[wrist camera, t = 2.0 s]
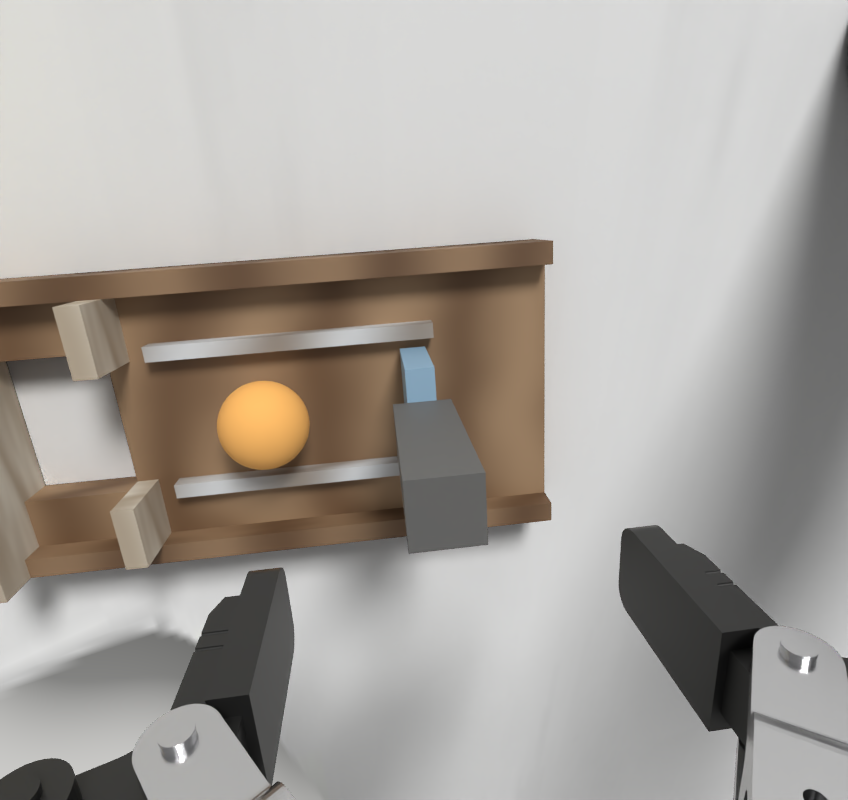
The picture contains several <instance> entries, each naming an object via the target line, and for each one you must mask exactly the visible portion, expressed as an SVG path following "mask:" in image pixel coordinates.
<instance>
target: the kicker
mask: <svg viewBox="0 0 848 800" xmlns="http://www.w3.org/2000/svg"><path fill="white" fill-rule="evenodd" d="M400 359H401V371H402V383H403V395H404V403H402V404H393V412H394V423H395V434H396V445H397V456H398V465H399V474H400V482H401V491H402V499H403V508H404V516H405V525H406V533H407V542H408V550H409V554H410V553H419V552H427V551H436V550H445V549H454V548H463V547H471V546H480V545H488V529H487V500H486V472H485V470H484V468H483V466H482V464H481V462H480V460H479V458H478V455H477V453H476V451H475V449H474V447H473V445H472V443H471V440H470V438H469V436H468V434H467V432H466V430H465V428H464V426H463V423H462V421H461V419H460V417H459V415H458V413H457V411H456V408H455V406H454V404H453V402H452V400H451V399H445V400H437V399H436V384H435V368H434V365H433V363H432V361H431V359H430V356H429V354H428V352H427V350H426V348H425V346H423V347H412V348H400Z"/></svg>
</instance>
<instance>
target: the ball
mask: <svg viewBox="0 0 848 800" xmlns="http://www.w3.org/2000/svg"><path fill="white" fill-rule="evenodd" d="M309 428H310V420H309V415H308V411H307V408H306V406H305V404H304V402H303V401H302V399H301V398H300V397H299V396H298V395H297V394H296V393H295V392H294V391H293V390H291V389H290V388H288V387H287V386H285V385H283V384H280V383H277V382H273V381H255V382H251V383H248V384H245V385H243V386H241V387H239V388H237V389H236V390H235V391H233V392H232V393H231V394H230V395H229V396H228V397H227V398H226V400H225V401H224V403H223V404H222V406H221V408H220V411H219V414H218V418H217V434H218V438H219V441H220V443H221V446H222V447H223V449H224V450H225V452H226V453H227V454H228V455H229V456H230V457H231V458H232V459H233V460H234V461H236V462H237V463H239V464H241V465H243V466H245V467H248V468H251V469H257V470H269V469H274V468H278V467H280V466H283V465H285V464H287V463H288V462H290V461H291V460H293V459H294V458H295V457H296V456H297V455H298V454H299V453H300V451H301V450H302V449H303V447H304V445H305V443H306V441H307V438H308V435H309Z"/></svg>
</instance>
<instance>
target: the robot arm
mask: <svg viewBox="0 0 848 800" xmlns="http://www.w3.org/2000/svg"><path fill="white" fill-rule="evenodd" d="M619 592H620V597H621V600H622V603H623V606H624V608H625V610H626V611H627V613H628V614H629V616H630V617H631V619H632V620H633V622H634V623H635V625H636V626H637V627H638V629H639V630H640V632H641V633H642V635H643V636H644V638H645V639H646V641H647V642H648V644H649V645H650V646H651V648H652V649H653V651H654V652H655V654H656V655H657V657H658V658H659V660H660V661H661V662H662V664H663V665H664V667H665V668H666V670H667V671H668V673H669V674H670V676H671V677H672V678H673V680H674V681H675V683H676V684H677V686H678V687H679V689H680V690H681V692H682V693H683V694H684V696H685V697H686V699H687V700H688V702H689V703H690V705H691V706H692V708H693V709H694V711H695V712H696V713H697V715H698V716H699V718H700V719H701V721H702V722H703V724H704V725H705V727H706V728H707V729H708V731H716V730H723V729H729V728H732V729H733V731H734V732H735V733H736V735H737V736H738V742H737V748H736V762H735V778H734V795H733V800H848V658H843V657H841V656H840V655H839V653H838V652H837V651H836V650H835V649H834V648H833V647H832V646H830V645H829V644H828V643H826V642H825V641H823V640H822V639H820V638H818V637H816V636H814V635H812V634H810V633H808V632H805V631H802V630H799V629H796V628H791V627H786V626H778V625H777V624H776V623H775V622H774V621H773V620H772V619H771V618H770V617H769V616H768V615H767V614H766V613H765V612H764V611H763V610H762V609H761V608H760V607H759V606H757V605H756V604H755V603H754V602H753V601H752V600H751V599H750V598H749V597H748V596H747V595H746V594H745V593H744V592H743V591H742V590H741V589H740V588H739V587H738V586H737V585H733V582H732V581H731V580H730V579H729V578H728V577H727V576H726V575H725V574H724V573H721V572H720V569H719V568H718V567H717V566H716V565H715V564H714V563H713V562H711V561H710V560H709V559H708V558H707V557H706V556H705V555H704V554H702V553H700V552H698V551H696V550H694V549H692V548H691V547H689V546H687V545H685V544H676V543H675V542H674V541H673V540H672V539H671V538H670V537H669V536H668V534H667V533H666V532H665V531H664V530H663V529H662V528H660V527H659V526H657V525H653V526H644V527H636V528H627V529H625V530H624V531H623V533H622V537H621V553H620V570H619ZM293 653H294V624H293V618H292V612H291V606H290V600H289V594H288V588H287V582H286V576H285V572H284V569H283V568H273V569H265V570H256V571H249V572H248V574H247V577H246V580H245V583H244V585H243V588H242V591H241V594H240V596H231V597H225V598H224V599H223V600H222V601H221V602H220V603H219V604H218V605H217V606H216V607H215V608H214V609H213V611H212V612H211V613H210V614H209V615H208V618H207V620H206V623H205V625H204V628H203V630H202V636H201V637H200V638H199V640H198V643H197V645H196V648H195V652H194V653H193V655H192V658H191V660H190V663H189V665H188V668H187V671H186V673H185V675H184V678H183V680H182V683H181V685H180V688H179V691H178V693H177V695H176V698H175V700H174V703H173V705H172V708H171V711H169V712H167V713H165V714H164V715H162V716H161V717H159V718H158V719H156V720H155V721H154V722H153V723H152V724H150V726H149V727H148V728H147V729H146V730H145V731H144V732H143V733H142V735H141V736H140V737H139V739H138V741H137V742H136V744H135V747H134V749H133V751H131V752H130V753H128V754H126V755H124V756H122V757H120V758H118V759H115V760H113V761H110V762H108V763H106V764H103V765H101V766H98V767H96V768H93V769H91V770H88V771H86V772H83V773H81V774H79V775H76V776H75V774H74V771H73V769H72V767H71V765H70V764H69V763H67V762H66V761H64V760H61V759H53V758H51V759H43V760H39V761H35V762H32V763H29V764H27V765H24V766H22V767H20V768H18V769H16V770H14V771H13V772H11V773H10V774H8V775H6V776H5V777H3V778H2V779H0V800H296V799H295V798H294V797H293V795H292V794H291V793H290V791H289V790H288V789H287V788H286V786H284V784H282V783H281V782H276V783H275V784H274V785H273V786H272V781H273V775H274V768H275V763H276V756H277V750H278V744H279V738H280V732H281V726H282V720H283V714H284V708H285V702H286V696H287V690H288V684H289V678H290V672H291V666H292V659H293Z"/></svg>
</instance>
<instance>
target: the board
mask: <svg viewBox="0 0 848 800" xmlns="http://www.w3.org/2000/svg"><path fill="white" fill-rule="evenodd" d="M547 264H553V241H549V240H536V239H531V240H517V241H504V242H490V243H477V244H464V245H450V246H437V247H423V248H410V249H397V250H383V251H370V252H356V253H343V254H329V255H316V256H303V257H289V258H276V259H262V260H249V261H236V262H222V263H209V264H195V265H182V266H168V267H155V268H142V269H128V270H115V271H101V272H88V273H74V274H61V275H48V276H34V277H21V278H7V279H0V603H6V602H8V601H9V600H10V599H11V598H12V597H13V596H14V595H15V594H16V593H17V592H18V591H19V590H20V589H21V588H22V587H23V585H24V584H25V583H26V582H27V581H28V580H29V579H30V578H35V577H44V576H53V575H62V574H71V573H80V572H89V571H98V570H107V569H116V568H125V567H126V570H129V569H138V568H147V567H149V566H150V565H152V564H161V563H170V562H179V561H188V560H197V559H206V558H215V557H224V556H233V555H242V554H251V553H260V552H269V551H278V550H287V549H296V548H305V547H314V546H323V545H332V544H341V543H350V542H359V541H368V540H377V539H386V538H395V537H404V536H407V533H406V525H405V516H404V508H403V499H402V491H401V482H400V474H399V465H398V456H397V445H396V434H395V423H394V412H393V404H402V403H404V395H403V383H402V371H401V359H400V348H412V347H423V346H425V348H426V350H427V352H428V354H429V356H430V359H431V361H432V363H433V365H434V368H435V384H436V399H437V400H445V399H451V400H452V402H453V404H454V406H455V408H456V411H457V413H458V415H459V417H460V419H461V421H462V423H463V426H464V428H465V430H466V432H467V434H468V436H469V438H470V440H471V443H472V445H473V447H474V449H475V451H476V453H477V455H478V458H479V460H480V462H481V464H482V466H483V468H484V470H485V472H486V500H487V527H493V526H502V525H511V524H520V523H529V522H538V521H547V520H551V502H550V500H549V499H548V497H547V496H546V494H545V493H544V319H545V265H547ZM62 356H66V358H67V362H68V365H69V369H70V372H71V376H72V380H73V381H83V380H94V379H100V378H101V377H103V376H105V375H107V374H109V373H110V376H111V380H112V384H113V388H114V392H115V395H116V399H117V403H118V407H119V411H120V415H121V419H122V423H123V426H124V430H125V434H126V438H127V442H128V446H129V450H130V453H131V457H132V461H133V465H134V469H135V473H136V477H126V478H116V479H106V480H96V481H86V482H76V483H66V484H56V485H46V486H45V483H44V480H43V477H42V473H41V470H40V467H39V464H38V461H37V458H36V455H35V451H34V448H33V445H32V442H31V439H30V436H29V433H28V430H27V426H26V423H25V420H24V417H23V414H22V411H21V408H20V404H19V401H18V398H17V395H16V392H15V389H14V386H13V382H12V379H11V376H10V373H9V370H8V367H7V364H6V361H15V360H27V359H39V358H51V357H62ZM255 381H273V382H277V383H280V384H283V385H285V386H287V387H288V388H290V389H291V390H293V391H294V392H295V393H296V394H297V395H298V396H299V397H300V398H301V399H302V401H303V402H304V404H305V406H306V408H307V411H308V415H309V420H310V428H309V435H308V438H307V441H306V443H305V445H304V447H303V449H302V450H301V451H300V453H299V454H298V455H297V456H296V457H295V458H294V459H293V460H291V461H290V462H288V463H287V464H285V465H283V466H280V467H278V468H274V469H269V470H257V469H251V468H248V467H245V466H243V465H241V464H239V463H237V462H236V461H234V460H233V459H232V458H231V457H230V456H229V455H228V454H227V453H226V452H225V450H224V449H223V447H222V446H221V443H220V441H219V438H218V434H217V418H218V414H219V411H220V408H221V406H222V404H223V403H224V401H225V400H226V398H227V397H228V396H229V395H230V394H231V393H232V392H233V391H235V390H236V389H237V388H239V387H241V386H243V385H245V384H248V383H251V382H255Z"/></svg>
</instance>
